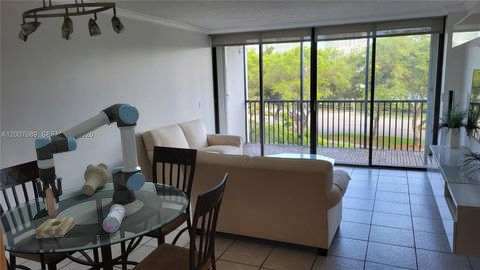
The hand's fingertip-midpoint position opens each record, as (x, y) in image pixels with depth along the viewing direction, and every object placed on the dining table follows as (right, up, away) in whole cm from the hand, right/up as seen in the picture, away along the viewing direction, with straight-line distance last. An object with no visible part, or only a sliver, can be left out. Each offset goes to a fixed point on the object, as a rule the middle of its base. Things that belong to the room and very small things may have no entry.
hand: (52, 208), depth 183 cm
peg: (0, -3, 0) cm, 3 cm away
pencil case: (+31, -11, +7) cm, 34 cm away
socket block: (+1, -13, +2) cm, 13 cm away
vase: (-7, -2, +67) cm, 68 cm away
